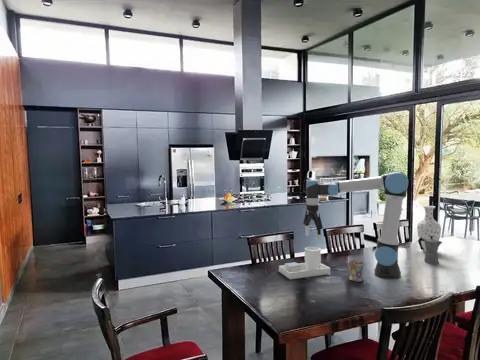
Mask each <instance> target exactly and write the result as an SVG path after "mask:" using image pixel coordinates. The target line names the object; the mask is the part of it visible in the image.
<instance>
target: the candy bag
mask: <svg viewBox="0 0 480 360" xmlns="http://www.w3.org/2000/svg"><path fill="white" fill-rule="evenodd" d="M364 266H365V262H364V261H361V260H356V259H355V260H348V262H347V263H346V267H347V270H348V271H349V273H350V274H349V276H348V279H349V280H350V281H352V282H363V281H364V280H365V279H364V276H363V270H364Z"/></svg>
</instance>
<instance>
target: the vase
mask: <svg viewBox="0 0 480 360" xmlns="http://www.w3.org/2000/svg"><path fill="white" fill-rule="evenodd" d="M422 208H424V211H425V212H424V218H423V219H422V220H421V221H419V222H418V223H417V226H416V230H417V237H418V240H419V239H420V238H424V239H431V237H430V236H433V239H436V240H439V241H440V239H441V233H442V232H441V231H442V228H441V224H440V222H438V221H436V219H434V210H435V208H436V206H434V205H422ZM421 245H422V248H423V249H424V250H422V249H421V251H422V252H424V253H426V247H425V241H421Z"/></svg>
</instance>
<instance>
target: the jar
mask: <svg viewBox="0 0 480 360" xmlns="http://www.w3.org/2000/svg"><path fill="white" fill-rule="evenodd" d="M321 250H322V249H321V247H318V246H307V247H305V248H304V263H305V265H306V268H307V270H314V269H319V268H320V263H321V262H322V254H321Z"/></svg>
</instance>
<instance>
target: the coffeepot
mask: <svg viewBox="0 0 480 360" xmlns="http://www.w3.org/2000/svg"><path fill="white" fill-rule="evenodd" d="M430 237H431V239H424V238H420V239H419V238H418V240H417V243H418V245H419V249H420V250H421V251H422V250H424V249H423V248H422V245H421V241H425V247H426V252H425V255H424V258H423V259H424V262H425V263H427V264H439V255H438V249H439V247H440V246H441V244H442V243H443V241H441V240H440V239H439V240H436V239H433V236H430Z"/></svg>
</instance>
